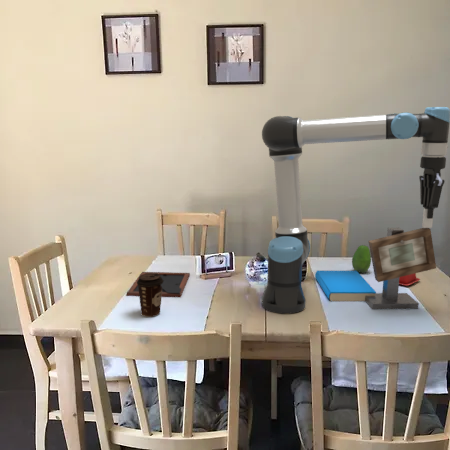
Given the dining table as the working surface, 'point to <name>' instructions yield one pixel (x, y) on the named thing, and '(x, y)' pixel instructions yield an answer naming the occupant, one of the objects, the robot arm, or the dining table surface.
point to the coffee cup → (150, 294)
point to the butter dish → (408, 279)
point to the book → (344, 285)
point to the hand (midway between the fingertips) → (427, 227)
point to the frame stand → (391, 291)
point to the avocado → (361, 259)
